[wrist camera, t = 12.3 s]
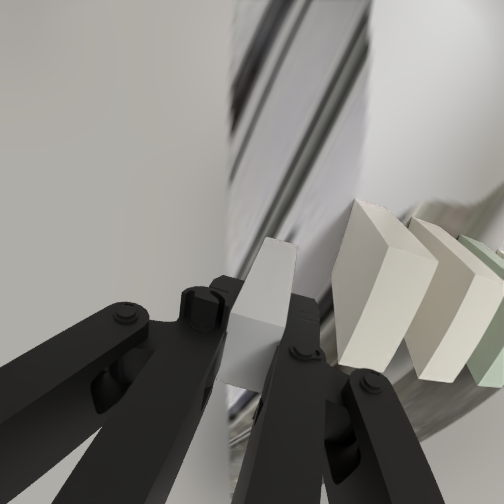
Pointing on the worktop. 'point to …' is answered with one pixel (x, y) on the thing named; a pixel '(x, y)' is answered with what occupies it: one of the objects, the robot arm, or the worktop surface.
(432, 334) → the tile
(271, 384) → the robot arm
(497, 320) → the tile
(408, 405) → the worktop surface
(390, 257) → the tile
